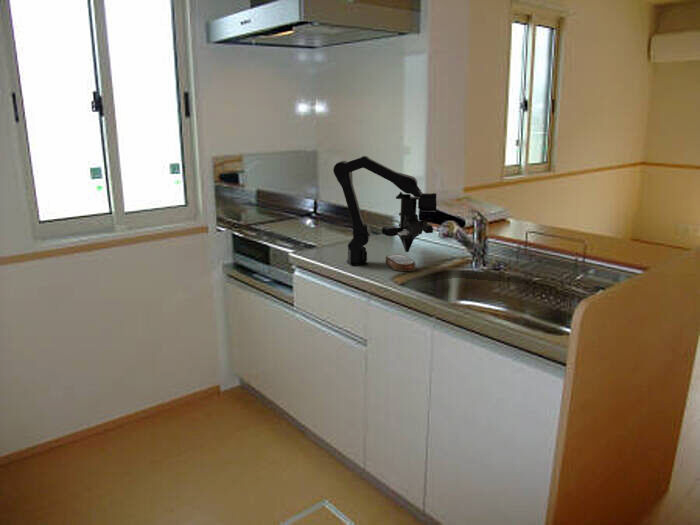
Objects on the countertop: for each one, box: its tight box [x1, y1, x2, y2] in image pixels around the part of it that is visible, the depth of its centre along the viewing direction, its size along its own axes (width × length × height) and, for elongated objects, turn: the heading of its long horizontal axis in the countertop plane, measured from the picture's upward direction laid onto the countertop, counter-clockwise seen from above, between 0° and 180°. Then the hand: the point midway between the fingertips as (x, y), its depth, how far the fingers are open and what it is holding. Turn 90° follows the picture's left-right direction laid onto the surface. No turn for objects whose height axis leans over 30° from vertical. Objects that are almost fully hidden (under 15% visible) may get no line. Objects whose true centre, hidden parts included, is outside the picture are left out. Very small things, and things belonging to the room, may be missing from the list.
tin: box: [384, 254, 416, 272], centre depth 205 cm, size 15×3×8 cm
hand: (406, 251), depth 205 cm, fingers closed
